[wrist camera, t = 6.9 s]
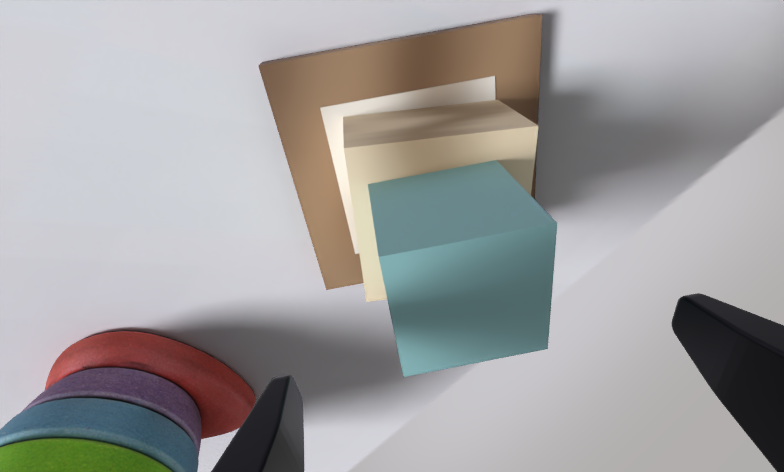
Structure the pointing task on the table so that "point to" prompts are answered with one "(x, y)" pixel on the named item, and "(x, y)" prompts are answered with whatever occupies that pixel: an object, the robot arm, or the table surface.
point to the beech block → (428, 157)
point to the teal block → (463, 266)
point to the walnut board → (387, 109)
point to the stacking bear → (125, 408)
